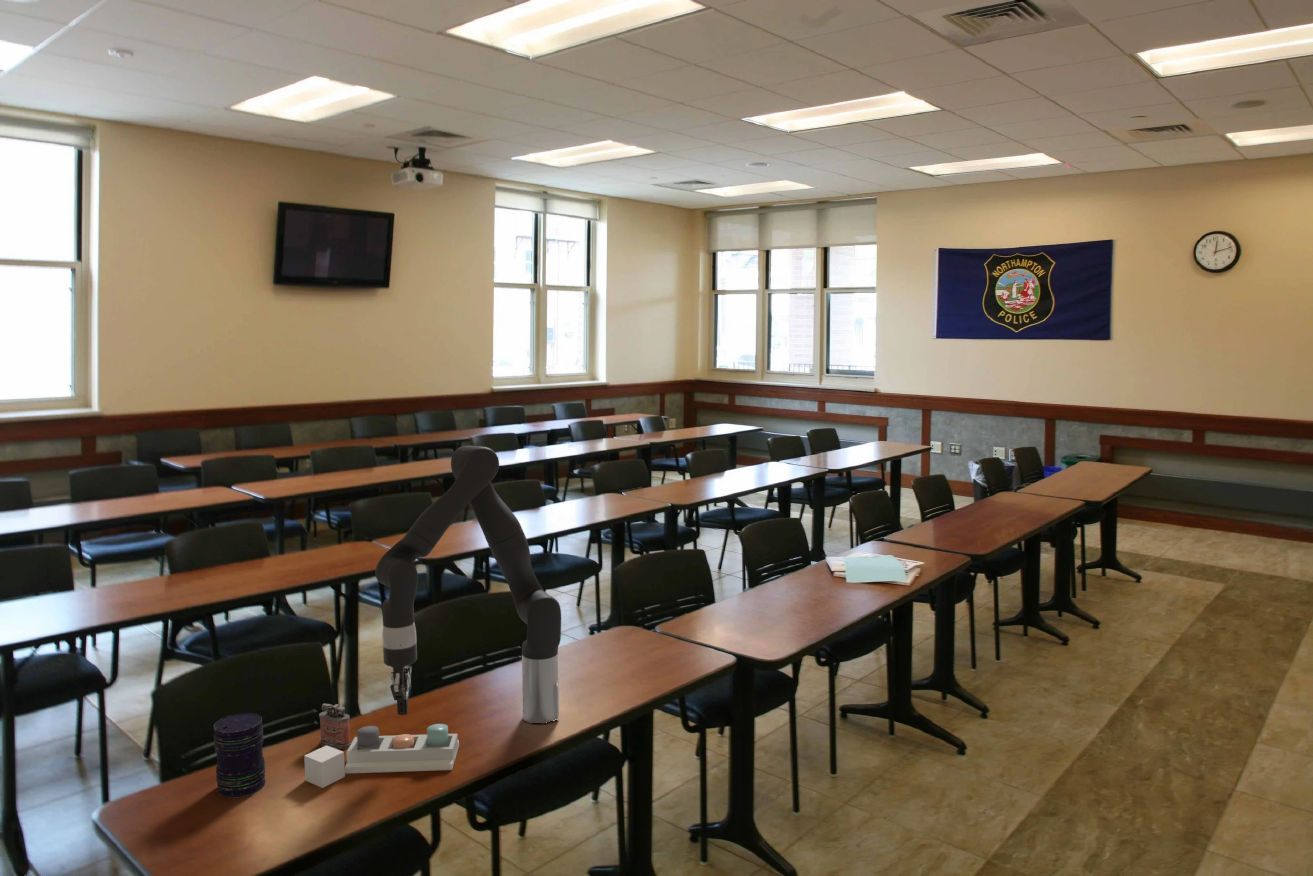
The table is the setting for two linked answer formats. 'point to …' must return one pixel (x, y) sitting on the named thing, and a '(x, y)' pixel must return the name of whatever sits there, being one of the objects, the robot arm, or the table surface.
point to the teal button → (437, 734)
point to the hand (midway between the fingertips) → (403, 713)
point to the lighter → (334, 727)
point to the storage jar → (239, 755)
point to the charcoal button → (368, 736)
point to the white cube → (324, 766)
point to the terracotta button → (403, 741)
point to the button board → (402, 756)
